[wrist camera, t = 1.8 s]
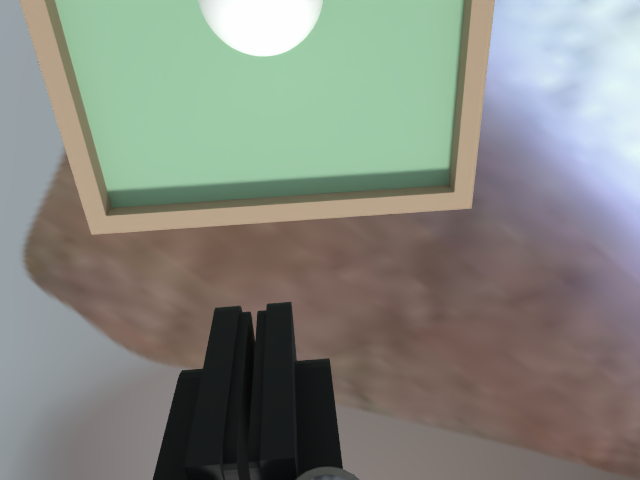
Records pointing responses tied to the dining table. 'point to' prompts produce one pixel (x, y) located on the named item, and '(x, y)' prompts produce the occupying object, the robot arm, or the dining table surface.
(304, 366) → the robot arm
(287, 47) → the ball
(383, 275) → the dining table surface
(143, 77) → the putting tray
